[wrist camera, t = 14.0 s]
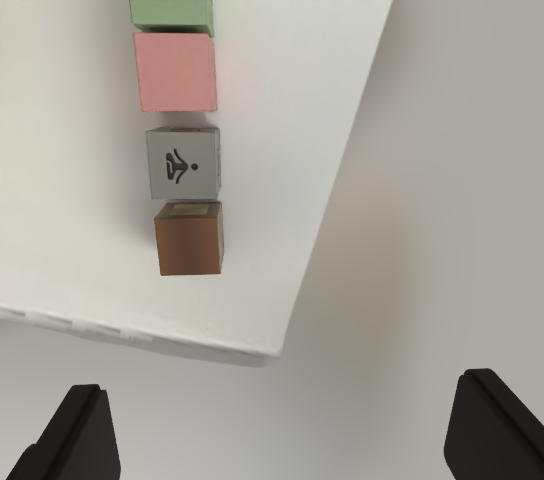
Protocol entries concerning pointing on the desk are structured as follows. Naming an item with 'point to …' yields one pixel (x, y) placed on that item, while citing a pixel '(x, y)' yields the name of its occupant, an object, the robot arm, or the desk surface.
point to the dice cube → (184, 163)
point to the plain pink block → (176, 71)
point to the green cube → (172, 16)
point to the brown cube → (190, 238)
